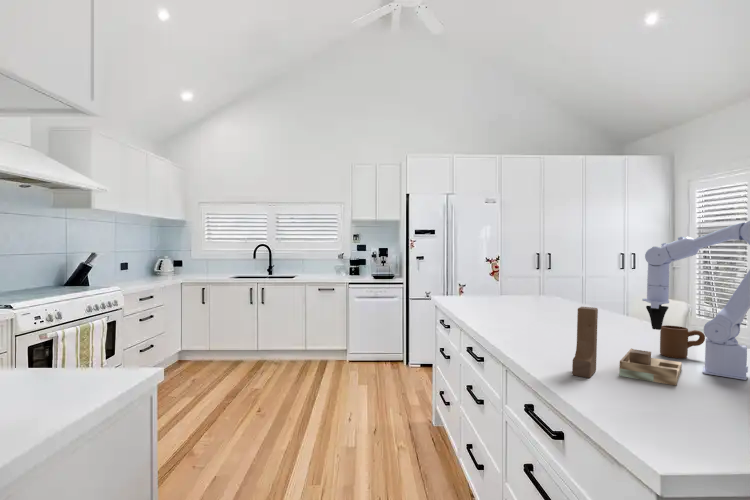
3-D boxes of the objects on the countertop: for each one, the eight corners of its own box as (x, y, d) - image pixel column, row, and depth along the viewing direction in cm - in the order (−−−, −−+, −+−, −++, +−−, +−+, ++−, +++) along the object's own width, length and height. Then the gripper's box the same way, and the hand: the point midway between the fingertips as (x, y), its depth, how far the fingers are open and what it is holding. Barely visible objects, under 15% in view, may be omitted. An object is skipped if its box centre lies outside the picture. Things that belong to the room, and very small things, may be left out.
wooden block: (589, 378, 120) (591, 311, 119) (571, 375, 122) (573, 309, 122) (596, 371, 127) (598, 307, 127) (579, 368, 130) (580, 306, 129)
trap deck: (681, 369, 131) (681, 355, 131) (676, 385, 115) (676, 370, 115) (630, 361, 139) (631, 348, 139) (619, 375, 123) (619, 361, 123)
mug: (703, 357, 146) (704, 328, 145) (705, 362, 139) (706, 332, 139) (659, 352, 152) (660, 324, 152) (659, 356, 146) (660, 327, 146)
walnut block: (650, 368, 124) (651, 351, 124) (648, 371, 120) (648, 354, 120) (632, 365, 127) (632, 349, 127) (629, 368, 123) (629, 351, 123)
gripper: (646, 283, 148) (644, 324, 148) (639, 286, 136) (638, 330, 136) (671, 284, 143) (670, 327, 144) (667, 287, 132) (666, 334, 132)
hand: (656, 329), depth 140 cm, fingers closed
